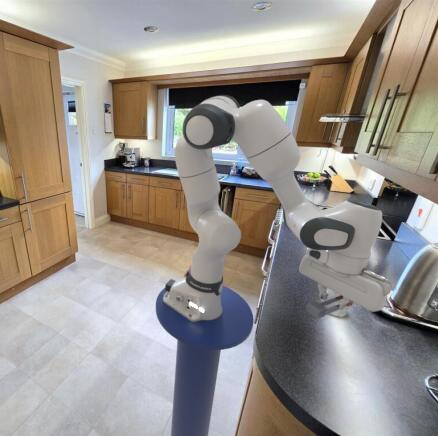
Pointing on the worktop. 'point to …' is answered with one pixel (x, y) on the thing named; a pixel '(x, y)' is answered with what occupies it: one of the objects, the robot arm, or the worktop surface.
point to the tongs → (325, 306)
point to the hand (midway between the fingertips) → (330, 302)
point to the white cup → (339, 312)
